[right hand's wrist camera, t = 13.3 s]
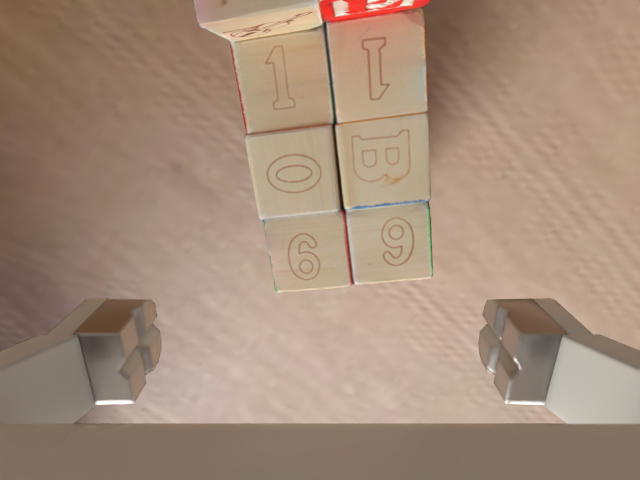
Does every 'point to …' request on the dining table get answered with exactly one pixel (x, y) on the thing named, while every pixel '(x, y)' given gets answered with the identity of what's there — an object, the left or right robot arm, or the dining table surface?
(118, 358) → the right robot arm
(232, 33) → the stack of blocks
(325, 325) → the dining table surface
